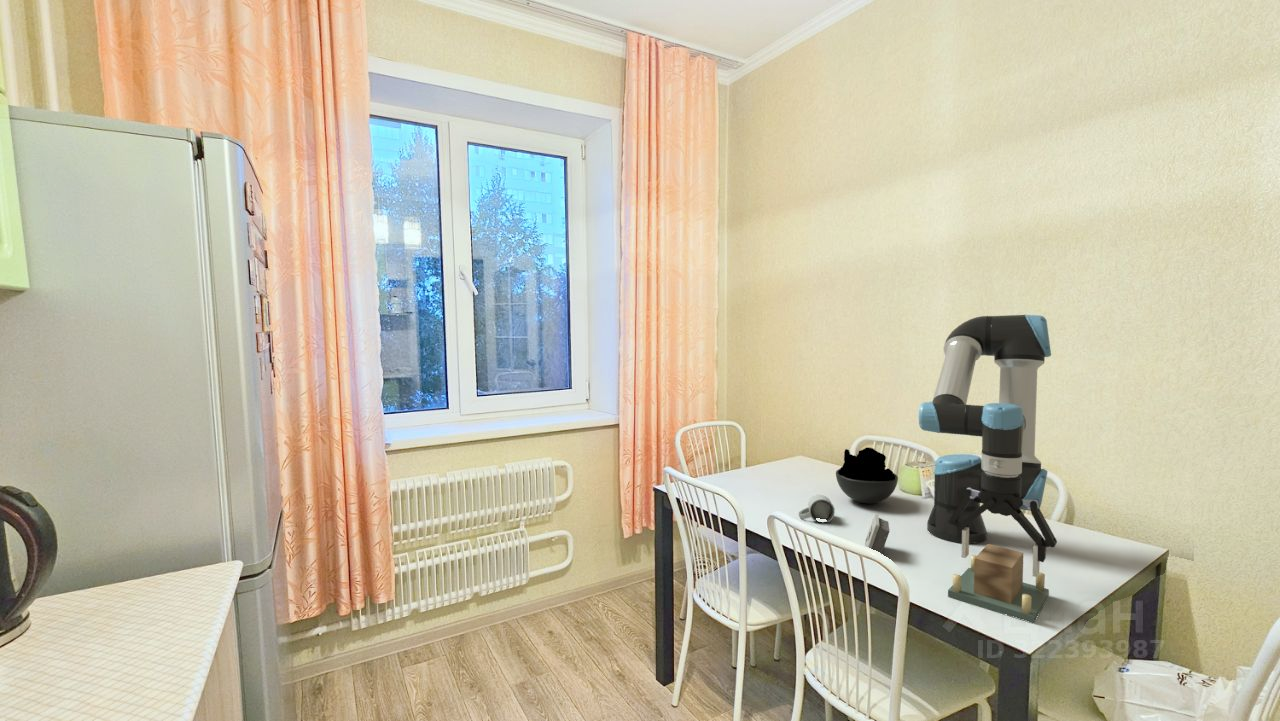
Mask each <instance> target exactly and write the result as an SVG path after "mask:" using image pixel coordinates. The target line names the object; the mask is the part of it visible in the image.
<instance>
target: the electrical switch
mask: <svg viewBox="0 0 1280 721" xmlns="http://www.w3.org/2000/svg"><path fill="white" fill-rule="evenodd" d="M871 520H872V521H871V523H870V526H869V529H868V531H867V534H866V538H865V542H864V547H865V546H866V547H869V548H871V549H873V550H876V551H878V552H880V553H882V554H883V551H884V549H885V545H886V543H887V540H888V537H889V533H890V532H891V531H890V526H889V525H890V523H889V520H885V519H883V518H882V517H881V518H880V517H879V514H877V513H875V514H874V515H873V518H872V519H871Z"/></svg>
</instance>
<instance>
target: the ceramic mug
mask: <svg viewBox="0 0 1280 721" xmlns="http://www.w3.org/2000/svg"><path fill="white" fill-rule="evenodd" d="M835 510H836V509H835V507H834V504H833V503H832V501H831V500H830V498H829V497H827V496H826V495H823V494H816V495H812V496H811V497H810V499H809V501H808V506H807V507H805V508H803V509H801V510H800V511H798V517H799V518H800V519H801V518H802V519H801V520H806V519H810V518H811V519H812V521H814V522H816V521H817V520H816V518H820V519H826V520H827V523H829V522H831V521H832V519H833V518H834V517H835V514H836V512H835Z"/></svg>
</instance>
